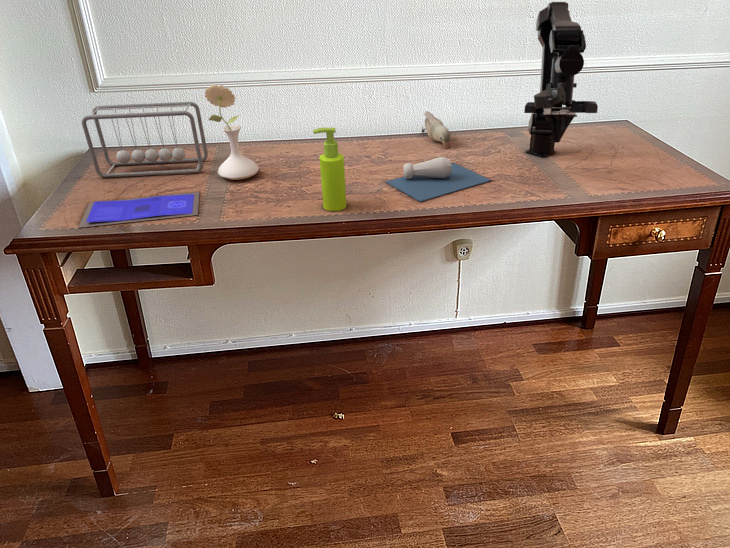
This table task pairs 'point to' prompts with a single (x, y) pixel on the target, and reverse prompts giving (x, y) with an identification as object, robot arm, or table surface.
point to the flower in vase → (230, 137)
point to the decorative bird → (436, 129)
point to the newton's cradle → (150, 153)
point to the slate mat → (438, 183)
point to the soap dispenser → (332, 173)
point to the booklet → (140, 209)
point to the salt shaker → (429, 169)
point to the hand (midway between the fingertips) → (556, 142)
